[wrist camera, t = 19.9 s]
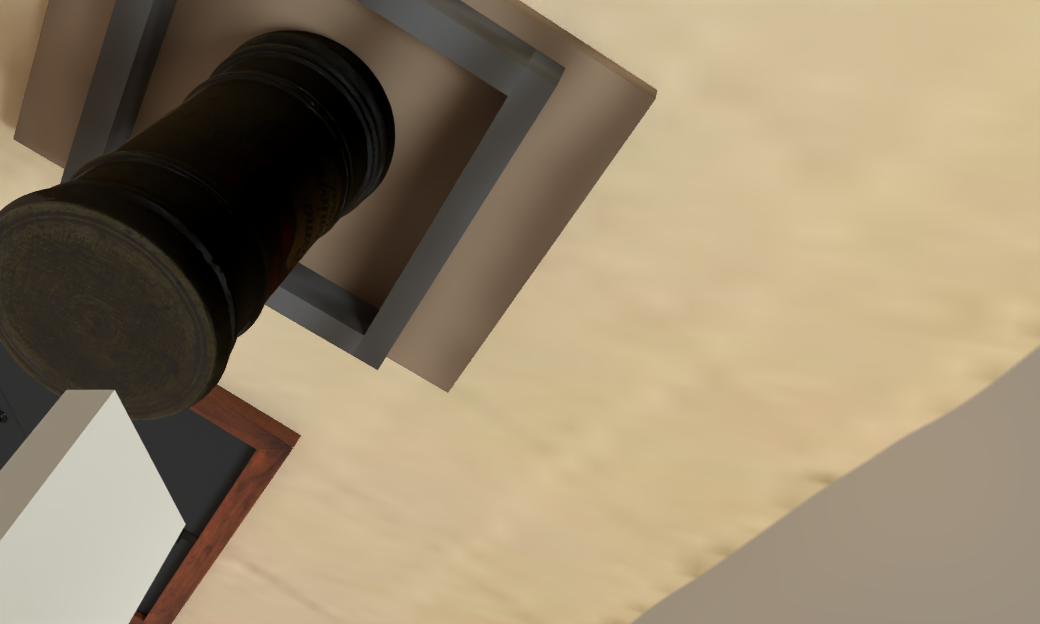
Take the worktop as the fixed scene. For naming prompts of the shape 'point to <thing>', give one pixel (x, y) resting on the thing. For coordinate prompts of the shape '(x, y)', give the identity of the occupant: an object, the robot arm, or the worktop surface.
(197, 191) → the container
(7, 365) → the picture frame
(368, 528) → the worktop surface
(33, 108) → the holder
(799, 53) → the worktop surface
